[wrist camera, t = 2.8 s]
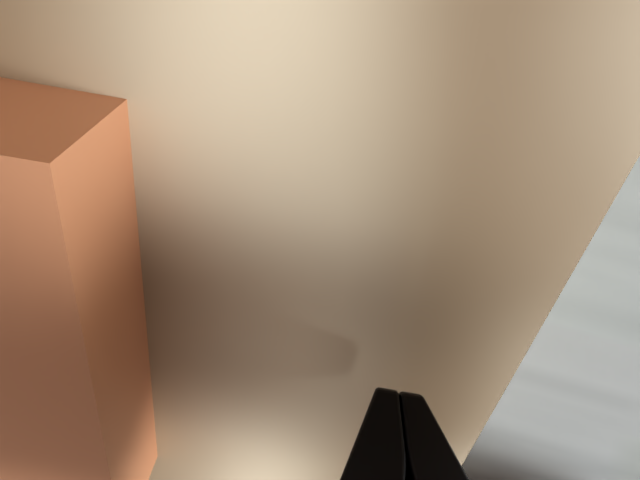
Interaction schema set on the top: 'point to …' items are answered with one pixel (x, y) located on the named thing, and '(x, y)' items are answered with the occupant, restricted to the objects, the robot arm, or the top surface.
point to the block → (71, 291)
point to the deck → (345, 200)
